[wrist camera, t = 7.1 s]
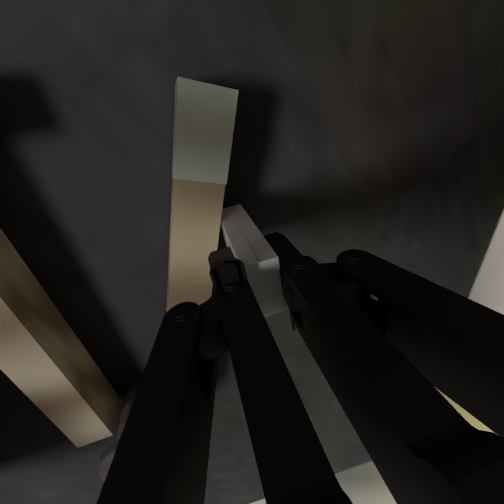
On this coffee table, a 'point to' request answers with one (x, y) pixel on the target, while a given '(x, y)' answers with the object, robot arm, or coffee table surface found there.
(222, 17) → the coffee table surface
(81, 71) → the coffee table surface
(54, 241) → the coffee table surface
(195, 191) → the tongs jaw
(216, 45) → the coffee table surface
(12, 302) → the tongs fixed
